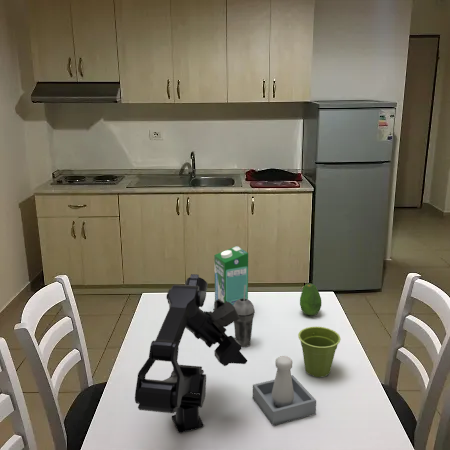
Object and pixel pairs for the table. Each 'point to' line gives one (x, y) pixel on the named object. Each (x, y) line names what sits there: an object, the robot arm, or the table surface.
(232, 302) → the milk carton
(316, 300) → the avocado
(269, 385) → the box
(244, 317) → the beverage cup
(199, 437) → the table surface
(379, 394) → the table surface
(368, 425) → the table surface
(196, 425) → the robot arm
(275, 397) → the salt shaker
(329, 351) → the plant pot
